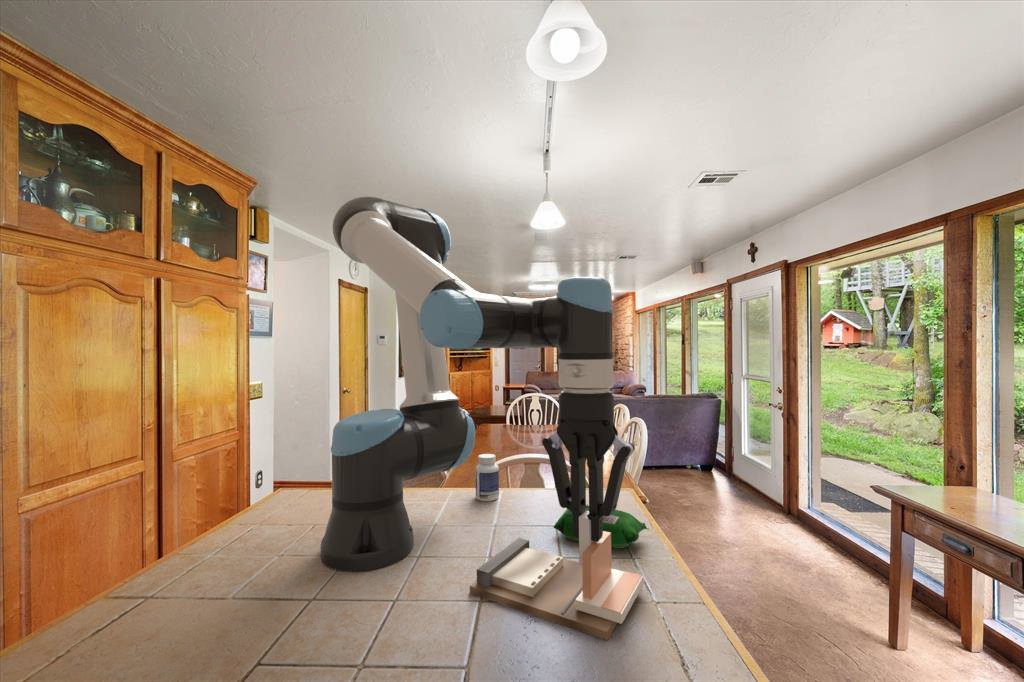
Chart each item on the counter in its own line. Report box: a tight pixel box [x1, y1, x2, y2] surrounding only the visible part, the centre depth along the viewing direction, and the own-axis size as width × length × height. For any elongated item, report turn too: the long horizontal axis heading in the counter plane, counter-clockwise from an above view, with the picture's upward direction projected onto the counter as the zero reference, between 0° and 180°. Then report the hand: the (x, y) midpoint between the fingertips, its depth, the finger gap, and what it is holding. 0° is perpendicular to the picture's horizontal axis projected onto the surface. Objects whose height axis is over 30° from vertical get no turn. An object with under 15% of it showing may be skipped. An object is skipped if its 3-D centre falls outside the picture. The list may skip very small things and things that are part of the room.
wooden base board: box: [469, 537, 618, 641], centre depth 63 cm, size 20×14×3 cm
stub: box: [575, 531, 644, 625], centre depth 59 cm, size 6×10×7 cm, turn 149°
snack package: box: [553, 505, 648, 549], centre depth 79 cm, size 7×16×5 cm, turn 63°
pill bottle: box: [474, 453, 500, 502], centre depth 101 cm, size 5×5×10 cm
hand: (588, 562), depth 60 cm, fingers closed
